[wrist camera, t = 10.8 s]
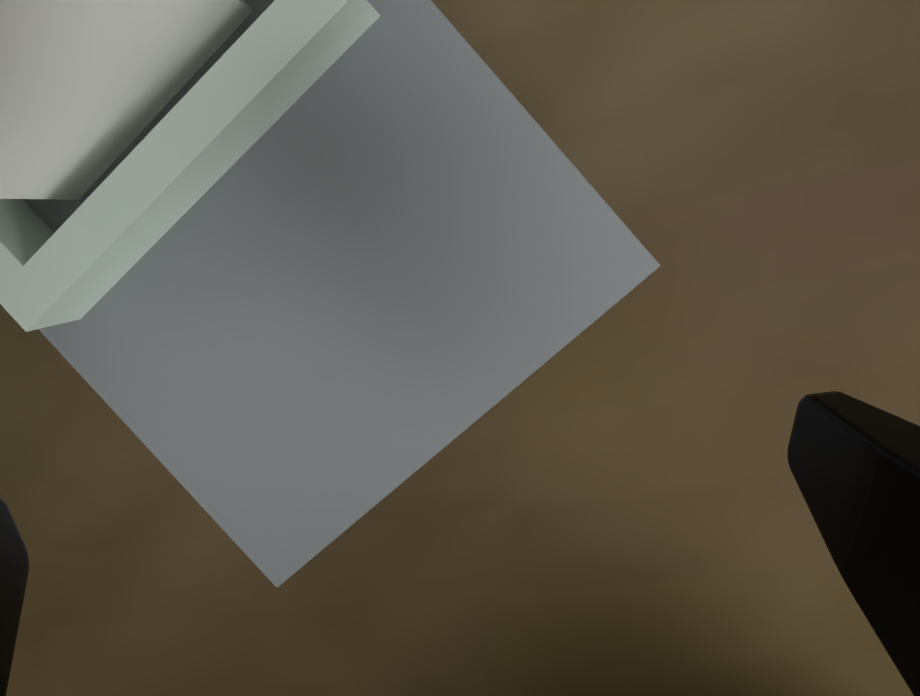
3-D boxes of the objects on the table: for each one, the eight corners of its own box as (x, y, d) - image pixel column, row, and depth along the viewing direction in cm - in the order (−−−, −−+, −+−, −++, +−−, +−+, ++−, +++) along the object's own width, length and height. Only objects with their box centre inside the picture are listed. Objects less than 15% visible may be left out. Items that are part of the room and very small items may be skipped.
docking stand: (654, 262, 18) (673, 273, 15) (289, 570, 21) (245, 630, 18) (115, -361, 17) (26, -476, 14) (-200, 37, 20) (-332, 8, 17)
